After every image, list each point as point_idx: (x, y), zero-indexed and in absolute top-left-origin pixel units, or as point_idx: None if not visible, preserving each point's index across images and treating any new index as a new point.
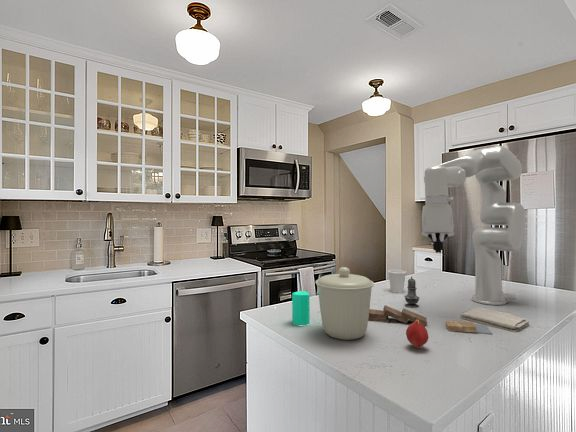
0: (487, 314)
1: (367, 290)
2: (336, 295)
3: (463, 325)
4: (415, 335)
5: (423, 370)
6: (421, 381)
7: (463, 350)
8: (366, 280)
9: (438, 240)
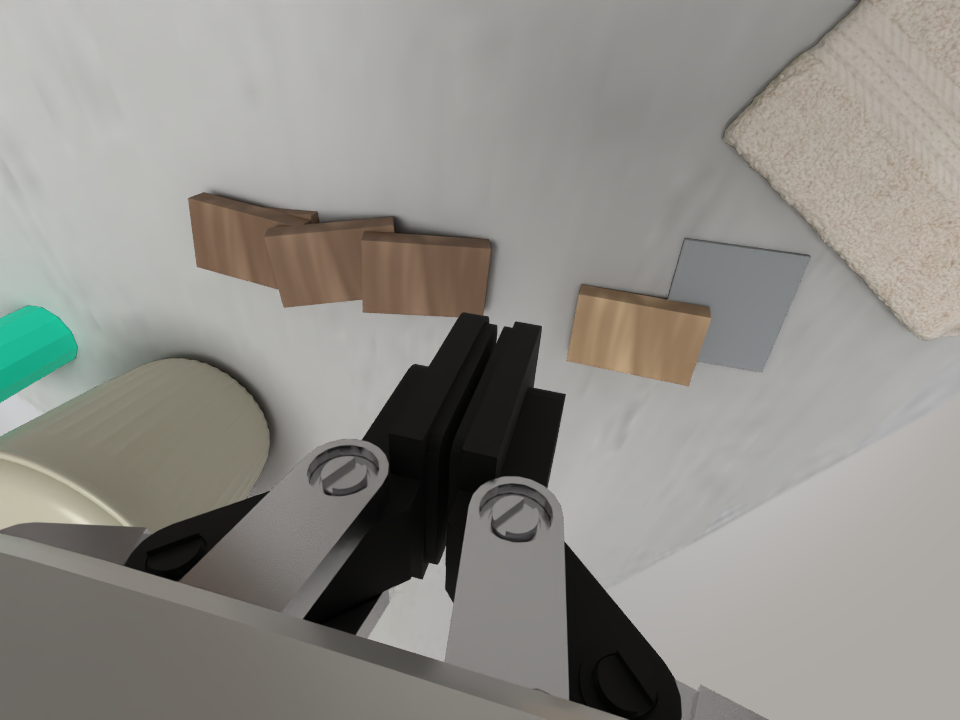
0: (909, 162)
1: None
2: None
3: (639, 361)
4: None
5: (435, 582)
6: (427, 612)
7: (565, 501)
8: None
9: (454, 509)
